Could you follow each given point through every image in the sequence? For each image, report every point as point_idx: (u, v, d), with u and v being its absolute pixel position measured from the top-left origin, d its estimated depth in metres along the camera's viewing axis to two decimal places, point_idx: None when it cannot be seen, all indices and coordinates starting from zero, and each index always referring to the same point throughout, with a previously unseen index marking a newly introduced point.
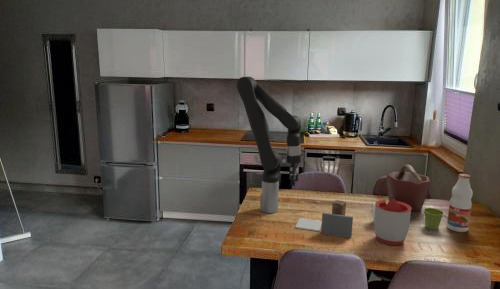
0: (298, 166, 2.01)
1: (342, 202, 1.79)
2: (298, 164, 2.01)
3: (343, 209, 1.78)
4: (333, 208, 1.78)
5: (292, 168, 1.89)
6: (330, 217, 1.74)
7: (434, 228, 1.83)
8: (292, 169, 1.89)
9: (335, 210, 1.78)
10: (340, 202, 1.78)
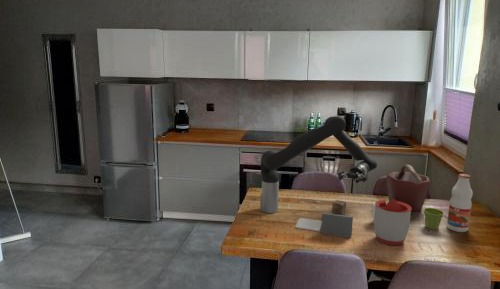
0: None
1: (342, 202, 1.79)
2: (342, 175, 1.97)
3: (343, 209, 1.78)
4: (333, 208, 1.78)
5: None
6: (330, 217, 1.74)
7: (434, 228, 1.83)
8: None
9: (335, 210, 1.78)
10: (340, 202, 1.79)
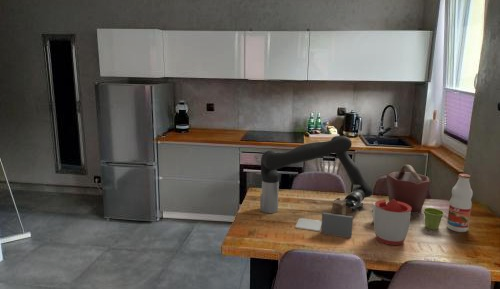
0: None
1: (342, 202, 1.79)
2: None
3: (343, 209, 1.78)
4: (333, 208, 1.78)
5: (362, 206, 1.91)
6: (330, 217, 1.74)
7: (434, 228, 1.83)
8: (362, 206, 1.91)
9: (335, 210, 1.78)
10: (340, 202, 1.78)
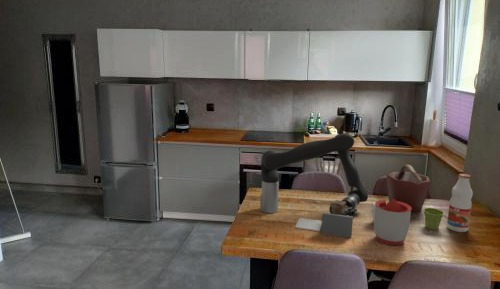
0: None
1: (342, 202, 1.79)
2: None
3: (343, 209, 1.78)
4: (333, 208, 1.78)
5: (356, 212, 1.82)
6: (330, 217, 1.74)
7: (434, 228, 1.83)
8: (356, 213, 1.82)
9: (335, 210, 1.78)
10: (340, 202, 1.78)
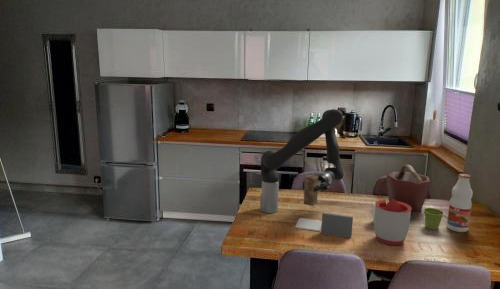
0: None
1: (314, 176, 1.80)
2: None
3: (315, 183, 1.79)
4: (305, 182, 1.80)
5: None
6: (330, 217, 1.74)
7: (434, 228, 1.83)
8: (328, 187, 1.84)
9: (307, 185, 1.80)
10: (312, 176, 1.80)
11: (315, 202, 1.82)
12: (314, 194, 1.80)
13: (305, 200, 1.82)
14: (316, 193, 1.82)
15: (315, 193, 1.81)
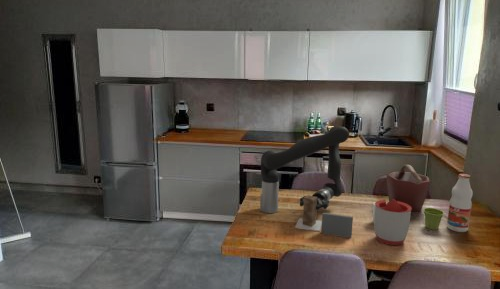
0: None
1: (313, 197, 1.83)
2: None
3: (314, 204, 1.82)
4: (304, 203, 1.83)
5: (328, 204, 1.87)
6: (330, 217, 1.74)
7: (434, 228, 1.83)
8: (328, 204, 1.86)
9: (306, 205, 1.82)
10: (311, 197, 1.83)
11: (314, 222, 1.85)
12: (313, 215, 1.82)
13: (304, 220, 1.84)
14: (315, 214, 1.85)
15: (314, 214, 1.83)
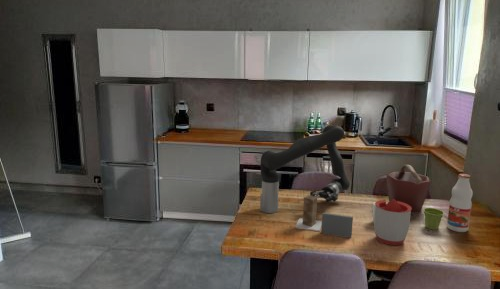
0: None
1: (313, 197, 1.83)
2: (314, 194, 2.04)
3: (314, 204, 1.82)
4: (304, 203, 1.83)
5: (337, 197, 1.97)
6: (330, 217, 1.74)
7: (434, 228, 1.83)
8: (337, 198, 1.97)
9: (306, 205, 1.82)
10: (311, 197, 1.83)
11: (314, 222, 1.85)
12: (313, 215, 1.82)
13: (304, 220, 1.84)
14: (315, 214, 1.85)
15: (314, 214, 1.83)
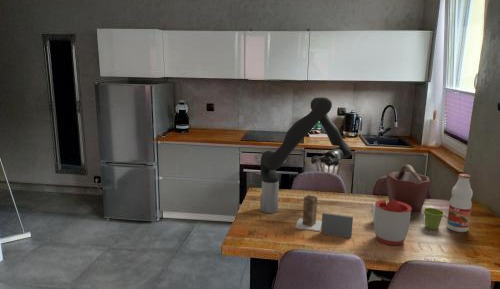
0: None
1: (313, 197, 1.83)
2: (315, 160, 2.00)
3: (314, 204, 1.82)
4: (304, 203, 1.83)
5: (339, 162, 1.93)
6: (330, 217, 1.74)
7: (434, 228, 1.83)
8: (339, 162, 1.93)
9: (306, 205, 1.82)
10: (311, 197, 1.83)
11: (314, 222, 1.85)
12: (313, 215, 1.82)
13: (304, 220, 1.84)
14: (315, 214, 1.85)
15: (314, 214, 1.83)
